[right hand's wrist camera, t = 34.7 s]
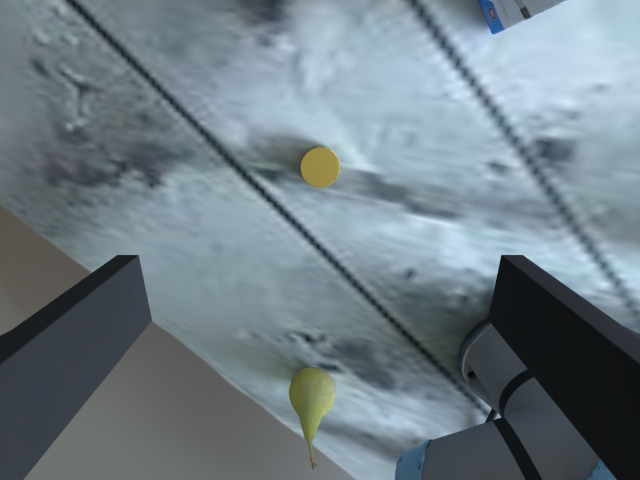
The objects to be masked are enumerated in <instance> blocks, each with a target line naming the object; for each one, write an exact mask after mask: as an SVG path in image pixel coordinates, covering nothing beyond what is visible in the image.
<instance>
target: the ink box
mask: <svg viewBox="0 0 640 480" xmlns="http://www.w3.org/2000/svg"><path fill="white" fill-rule="evenodd" d="M479 1H480V4H481V6H482V9H483V12H484V14H485V17H486V20H487V22H488V25H489V28H490V30H491V33H492V34H496V33H499V32H501V31H503V30H505V29H507V28H510V27H512V26H514V25H516V24H518V23H521V22H523V21H525V20H527V19H529V18H531V17H534V16H536V15H538V14H540V13H542V12H544V11H546V10H549V9H551V8H553V7H555V6H557V5H559V4H561V3H563V2H565V1H567V0H479Z"/></svg>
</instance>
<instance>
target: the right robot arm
mask: <svg viewBox="0 0 640 480" xmlns="http://www.w3.org/2000/svg"><path fill="white" fill-rule="evenodd" d="M151 321H152V319H151V314H150V309H149V304H148V299H147V294H146V289H145V284H144V279H143V274H142V270H141V265H140V260H139V255H117V256H115V257H114V258H113V259H111V260H110V261H108V262H107V263H106V264H104V265H103V266H101V267H100V268H99V269H97V270H96V271H94V272H93V273H91V274H90V275H89V276H87V277H86V278H84V279H83V280H82V281H80V282H79V283H77V284H76V285H75V286H73V287H72V288H70V289H69V290H68V291H66V292H65V293H63V294H62V295H60V296H59V297H58V298H56V299H55V300H53V301H52V302H51V303H49V304H48V305H46V306H45V307H43V308H42V309H41V310H39V311H38V312H36V313H35V314H34V315H32V316H31V317H29V318H28V319H27V320H25V321H24V322H22V323H21V324H20V325H18V326H17V327H15V328H14V329H12V330H11V331H9V332H7V333H5V334H3V335H1V336H0V480H23V479H24V478H25V477H26V476H27V474H28V473H29V472H30V471H31V469H32V468H33V467H34V466H35V464H36V463H37V462H38V461H39V459H40V458H41V457H42V456H43V454H44V453H45V452H46V451H47V450H48V448H49V447H50V446H51V445H52V443H53V442H54V441H55V440H56V438H57V437H58V436H59V435H60V433H61V432H62V431H63V430H64V428H65V427H66V426H67V425H68V423H69V422H70V421H71V420H72V419H73V417H74V416H75V415H76V414H77V412H78V411H79V410H80V409H81V407H82V406H83V405H84V404H85V402H86V401H87V400H88V399H89V397H90V396H91V395H92V394H93V392H94V391H95V390H96V389H97V387H98V386H99V385H100V384H101V383H102V381H103V380H104V379H105V378H106V376H107V375H108V374H109V373H110V371H111V370H112V369H113V368H114V366H115V365H116V364H117V363H118V361H119V360H120V359H121V358H122V357H123V355H124V354H125V353H126V352H127V350H128V349H129V348H130V347H131V345H132V344H133V343H134V342H135V340H136V339H137V338H138V337H139V335H140V334H141V333H142V332H143V330H144V329H145V328H146V327H147V325H148V324H149V323H150V322H151ZM459 368H460V371H461V373H462V375H463V377H464V379H465V381H466V383H467V385H468V386H469V388H470V389H471V390H472V391H473V392H474V393H475V394H477V395H478V396H479V397H480V398H481V399H482V400H483V401H485V402H486V403H487V404H488V405H489V406H490V407H491V408H492V410H491V412H490V414H489V416H488V418H487V420H486V421H485V423H483V424H481V425H478V426H475V427H472V428H469V429H466V430H463V431H460V432H457V433H453V434H450V435H447V436H444V437H441V438H438V439H434V440H431V439H430V440H427V441H426V442H425V443H424V444H422V445H419V446H417V447H414V448H412V449H409V450H407V451H405V452H404V453H403V454H402V455H401V456H400V457H399V459H398V462H397V466H396V472H395V480H640V334H638V333H636V332H634V331H632V330H630V329H628V328H626V327H624V326H622V325H620V324H619V323H618V322H616V321H615V320H613V319H612V318H611V317H609V316H608V315H606V314H605V313H604V312H602V311H601V310H599V309H598V308H597V307H595V306H594V305H592V304H591V303H589V302H588V301H587V300H585V299H584V298H582V297H581V296H580V295H578V294H577V293H575V292H574V291H573V290H571V289H570V288H568V287H567V286H565V285H564V284H563V283H561V282H560V281H558V280H557V279H556V278H554V277H553V276H551V275H550V274H549V273H547V272H546V271H544V270H543V269H541V268H540V267H539V266H537V265H536V264H534V263H533V262H532V261H530V260H529V259H527V258H526V257H525V256H523V255H501V260H500V265H499V270H498V274H497V279H496V284H495V289H494V294H493V299H492V304H491V309H490V314H489V319H487V320H485V321H484V322H482V323H481V324H479V325H478V326H477V327H476V328H475V329H474V330H473V331H472V332H471V333H470V334H469V335H468V336H467V338H466V339H465V341H464V343H463V344H462V347H461V350H460V353H459ZM497 413H498V414H499V415H500V416H501V417H502V418H499V419H496V420H494V419H495V417H496V415H497Z"/></svg>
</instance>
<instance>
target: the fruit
mask: <svg viewBox="0 0 640 480" xmlns="http://www.w3.org/2000/svg"><path fill="white" fill-rule="evenodd" d="M289 397H290V401H291V404H292V406H293V408H294V410H295V411H296V413H297V414H298V415H299V417H300V421H301V426H302V429H303V433H304V437H305V439H306V440H307V442H308V444H309V450H310V459H311V463H312V468H313V469H315V468H317V466H316V464H315V462H314V457H313V450H312V441H313V439H314V437H315V434H316V431H317V429H318V426H319V424H320V421H321V418H322V417H323V416H325V415H326V414H327V413H328V412H329V411H330V409H331V408H332V406H333V403H334V399H335V386H334V383H333V380H332V379H331V377H330V376H329V375H328V374H327V373H326V372H325V371H324V370H322V369H319V368H316V367H307V368H304V369H301V370H300V371H298V372H297V373H296V374H295V375H294V377H293V378H292V381H291V384H290V388H289Z"/></svg>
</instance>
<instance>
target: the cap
mask: <svg viewBox="0 0 640 480" xmlns="http://www.w3.org/2000/svg"><path fill="white" fill-rule="evenodd" d="M300 168H301V174H302V176H303V178H304V180H305V181H306V182H307V183H308V184H310V185H312V186H314V187H326V186H329V185H330V184H332V183H333V182H334V181H335V180H336V179H337V177H338V175H339V171H340V164H339V160H338V158H337V156H336V154H335V153H334V152H333V151H332V150H331V149H329V148H327V147H324V146H316V147H313V148H311V149H309V150H308V151H307V152H306V153H305V155H304V156H303V159H302V161H301V167H300Z"/></svg>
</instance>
